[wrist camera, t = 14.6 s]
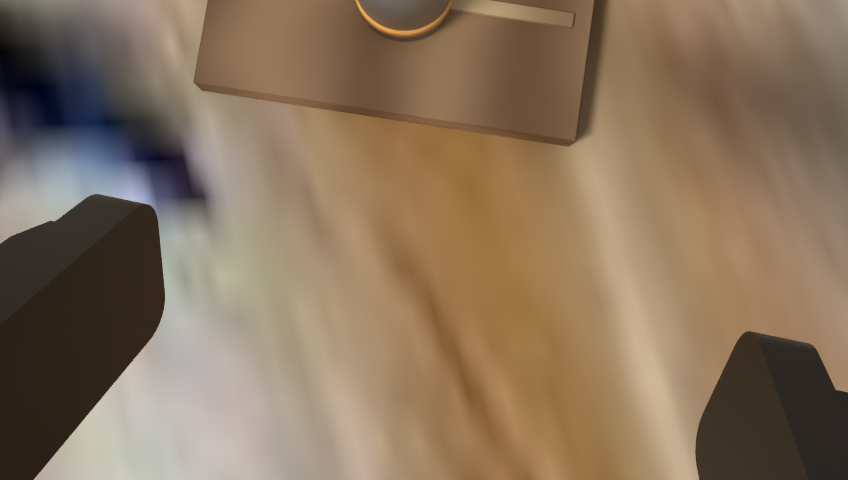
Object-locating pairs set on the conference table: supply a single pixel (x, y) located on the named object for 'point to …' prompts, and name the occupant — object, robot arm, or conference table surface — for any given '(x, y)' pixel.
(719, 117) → the conference table surface
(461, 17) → the walnut board
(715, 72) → the conference table surface
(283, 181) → the conference table surface
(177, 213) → the conference table surface
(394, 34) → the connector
